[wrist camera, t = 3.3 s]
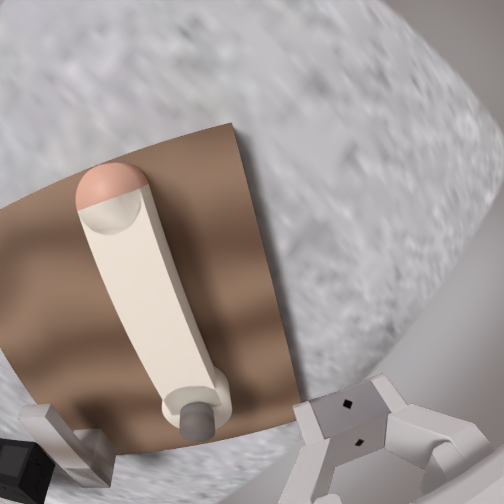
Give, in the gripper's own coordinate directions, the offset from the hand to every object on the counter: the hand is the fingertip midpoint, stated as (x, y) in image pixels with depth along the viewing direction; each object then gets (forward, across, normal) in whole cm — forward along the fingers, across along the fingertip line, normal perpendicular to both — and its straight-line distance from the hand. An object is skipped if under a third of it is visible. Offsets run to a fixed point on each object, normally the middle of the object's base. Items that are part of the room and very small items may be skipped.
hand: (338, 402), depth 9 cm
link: (+11, -7, 0) cm, 13 cm away
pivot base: (+13, -11, -3) cm, 17 cm away
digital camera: (+13, -34, -14) cm, 39 cm away
